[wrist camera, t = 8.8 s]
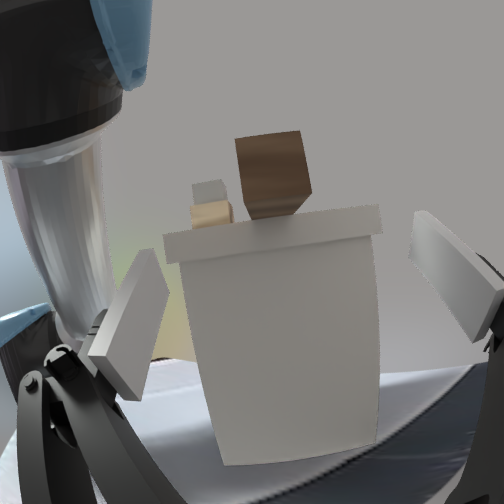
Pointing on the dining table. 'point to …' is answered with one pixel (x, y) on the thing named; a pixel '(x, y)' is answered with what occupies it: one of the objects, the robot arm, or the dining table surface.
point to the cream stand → (285, 331)
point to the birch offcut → (211, 214)
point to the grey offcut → (209, 192)
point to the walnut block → (273, 174)
